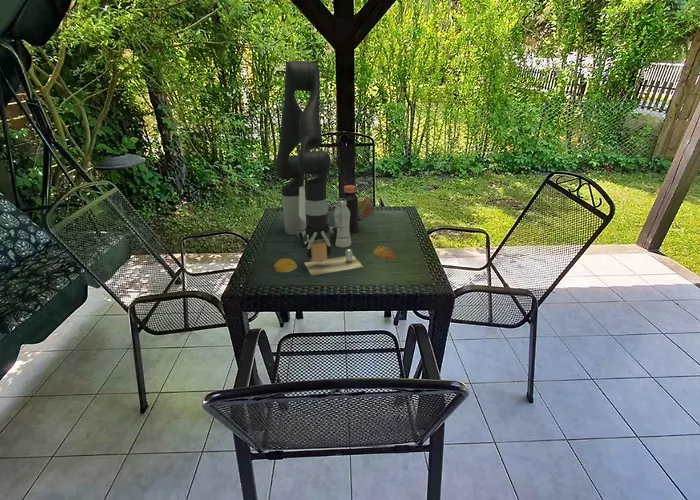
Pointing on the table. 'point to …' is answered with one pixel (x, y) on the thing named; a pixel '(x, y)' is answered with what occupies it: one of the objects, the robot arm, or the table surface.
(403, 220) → the table surface
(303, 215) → the champagne flute
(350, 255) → the post
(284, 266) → the bread roll
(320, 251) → the cap
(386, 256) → the pastry
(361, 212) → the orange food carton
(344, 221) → the plastic bottle
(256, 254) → the table surface
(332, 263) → the board
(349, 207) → the vinegar
